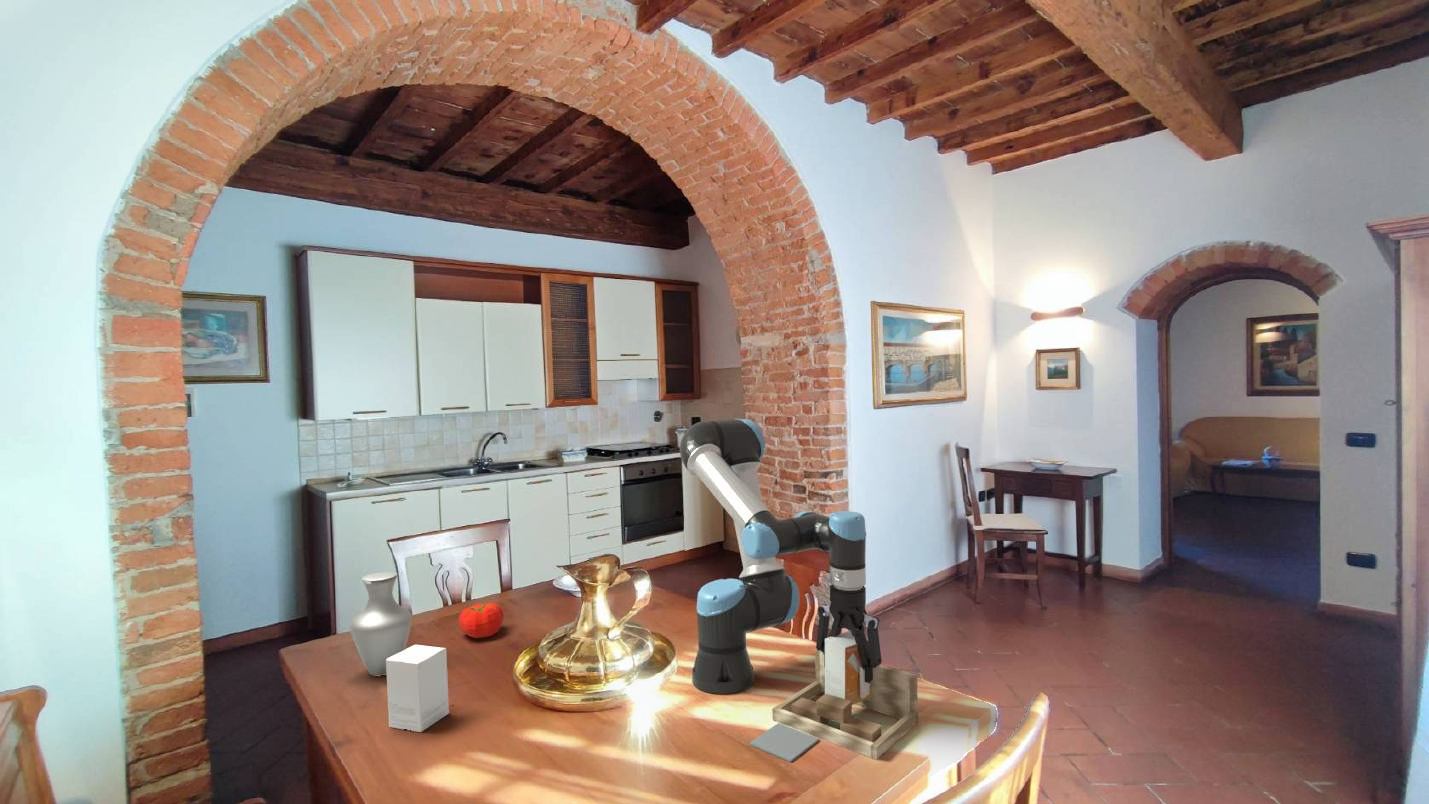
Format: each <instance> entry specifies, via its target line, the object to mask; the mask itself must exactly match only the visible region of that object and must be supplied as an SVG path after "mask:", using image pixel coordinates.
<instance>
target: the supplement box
mask: <svg viewBox="0 0 1429 804" xmlns="http://www.w3.org/2000/svg"><path fill="white" fill-rule="evenodd" d="M447 660H448V659H447V648H446V647H437V646H429V645H420V644H413V645H412V646H410V647H407V648H405V650H404V651H402V652H400V653H398V654H395V655H393V656H391V657H389V658H388V659H386V671H387V675H386V688H387V690H386V691H387V706H388V707H387V709H388V710H387V711H388V727H389V728H393V729H398V730H399V729H400V730H404V729H407V731H410V730H411V731H412V732H417V733H422V732H424V731H425V730H427V729H428V728H430V726H432V725H434V724H435V723H437V722H438V721H440V720H441V719H443V718H444V717H446V716H447V715H449V713H450V709H449V708H450V707H449V687H448V686H449V685H448V680H449V679H448V663H447V662H448V661H447ZM411 731H410V732H411Z"/></svg>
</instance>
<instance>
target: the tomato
mask: <svg viewBox="0 0 1429 804" xmlns="http://www.w3.org/2000/svg"><path fill="white" fill-rule="evenodd" d="M503 622H504V611H503V609H502V607H501V606H499V605H498V604H497V603H494V602H487V603H485V602H484V603H477V604H473V605H472V606H470V607H467V608H464V609H463V610H462V611H461V612H460V614H459V617H458V625H459V628H460V631H461V632H462V633H463V634H466V635H468V636H469V637H472V638H474V639H481V638H485V637H486V638H490V637H492V636H494V635H495V634H496V633H498V632H499V631H500V628H501V626H502V625H503ZM489 636H490V637H489Z"/></svg>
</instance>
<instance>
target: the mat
mask: <svg viewBox="0 0 1429 804" xmlns="http://www.w3.org/2000/svg"><path fill="white" fill-rule="evenodd" d="M819 741H820V738H818V737H816V736H813V735H811V734H808V733H805V732H803V731H800V730H798V729H795V728H792V727H790V726H787V725H785V724H782V723H779V722H777V724H775V725H774V726H772V727H770V728H769V729H767V730H766V731H764V732H763V733H761V734H760V735H759V736H757V737H756V738H754V739H753V740H752V741H749V743H748V745H749V747H750V746H751V747H753V748H755V749H758V750H760V751H762V752H765V753H768V755H769V754H770V755H771V756H774V757H776V758H779V759H781V760H784V761H786V762H788V763H792V762H793V761H795V760H796V759H797V758H799V757H800V756H801V755H802V754H804V753H805V752H806V751H807V750H809V749H811V748H812V747H813V746H814V745H816V744H817V743H818V742H819Z"/></svg>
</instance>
